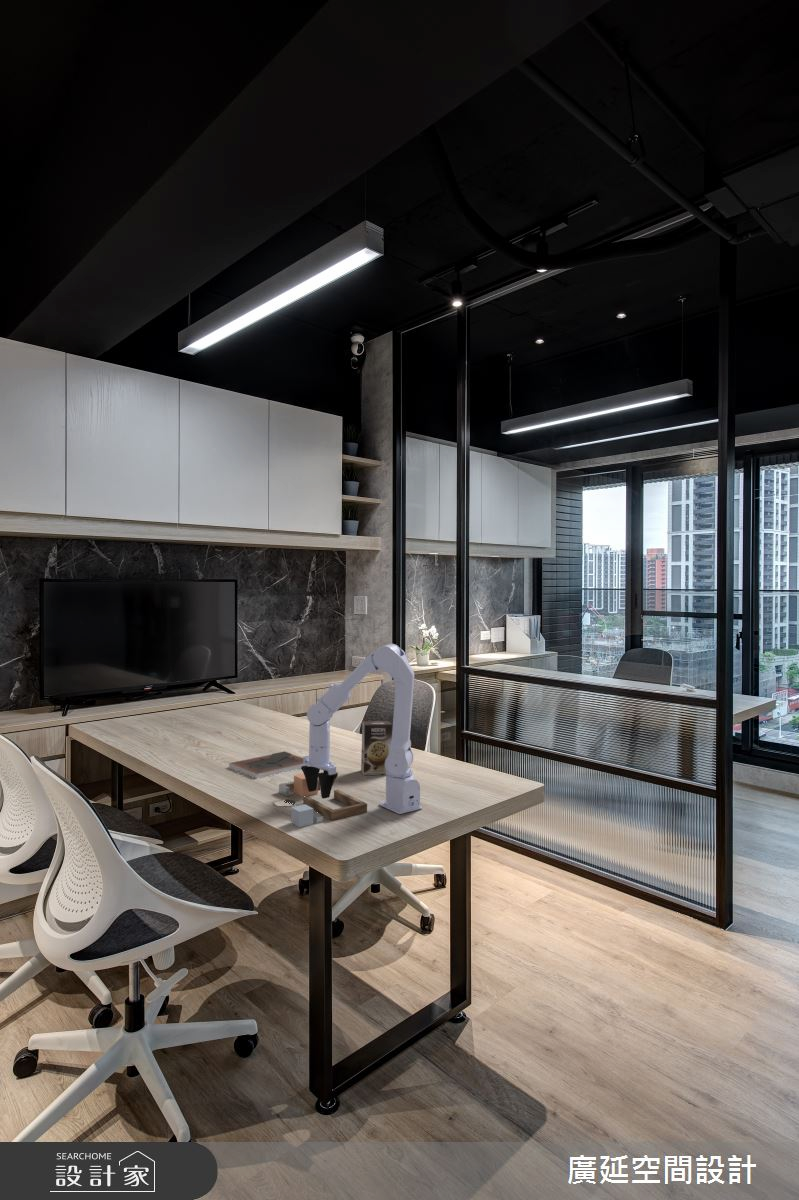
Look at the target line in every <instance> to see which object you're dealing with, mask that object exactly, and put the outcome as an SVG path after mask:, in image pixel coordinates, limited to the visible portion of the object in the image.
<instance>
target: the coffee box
mask: <svg viewBox="0 0 799 1200" xmlns="http://www.w3.org/2000/svg"><path fill="white" fill-rule="evenodd" d="M361 722H362V723H361V726H362V727H361V730H362V731H361V762H360V763H361V765H360V768H361V769H360V771H361V772H362V775H363V776H379V775H380V776H382V775H381V774H384V775H386V769H385V760H386V758H387V757H388V755H389V748H390V744H391V740H392V730H393V723H392V722H390V720H369V721H365V720H363V721H361Z"/></svg>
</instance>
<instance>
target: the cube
mask: <svg viewBox="0 0 799 1200" xmlns="http://www.w3.org/2000/svg"><path fill="white" fill-rule="evenodd" d="M293 781H294V791H293V793H294V794H296V795H297V794H298V796H299V795H300V796H299V797H301V796H302V797H301V798H303V797H304V796H308V797H310V796H315V795H318V793H319V792H318V791H319V789H318V781H317V789H316V791H312V792H309V790H308V786H307V782H306V778H305V775H304V773H300V774H299V773H298V774H295V775H293ZM314 794H315V795H314ZM309 795H310V796H309Z"/></svg>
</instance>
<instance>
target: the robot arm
mask: <svg viewBox="0 0 799 1200" xmlns="http://www.w3.org/2000/svg"><path fill="white" fill-rule="evenodd" d="M378 670H381V671H383V672H385V673H387V674H388V675H389V676H390V677H391V678H392V679H393V680H394V681H395V689H394V690H395V693H394V707H393V719H392V720H393V721H392V740H391V744H390V748H389V755H388V757H387V758H386V760H385V769H386V774H385V801H382V802H379V803H378V805H379V806H380V807H383V808H385V809H387V810H389V811H391V812H394V813H395V814H398V815H402V814H405V813H409V812H410V813H411V812H415V811H418V810H422V809H423V806H421V785H420V783H419V781H418V780H416V779H415V777H414V775H413V770H412V768H411V767H410V766H411V764H413V761H414V753H413V750H412V747H411V746H412V741H411V728H412V727H411V725H412V715H413V714H412V712H413V701H414V700H413V699H414V689H415V688H414V687H415V672H414V670H413V668H412V666H411V664H410V662H409V661H408V658H407V655H406V653H405V651H404V650H403V649H402V648H400V647H399V645H397V644H394V643H387V644H384V645H383V646H382V645H381V646H380V647H378V648H376V649H375V650H374V652H372V653H370V654H369V655H367V657H365V658H364V659H363V660H362V661H361V662H360V663H359V664H358V665H357V666H356V667H355V668H354V670H352V671H351V673H350V674H348V676H347V677H346V678H345V679H344V680H343V681H342V682H335V683H331V684H330V685H328V687H327V688H328V690H327V691H325V693H324V694H323V695H321V696H319V697H317V699H316V701H317V703H314V704H311V705H310V707H309V708H308V710H307V712H306V717H307V720H308V722H309V730H308V732H309V734H308V735H309V736H308V741H309V742H308V755H305V756H302V758H303V763H305V766H302V767H301V769H300V770H301V771H302V772H303V773H302V774H304V775H305V778H306V782H307V786H308V790H309V792H312V791H316V789H317V781H318V779H319V782H320V788H321V790H320V797H321V799H323V800H324V799H329V798H330V796H331V792H332V788H333V785H334V783H335V781H336V779H337V777H338V776H339V772H337V767H336V766H335V765H334V763H332V761H331V760H330V758H331V757H330V754H331V749H330V748H331V741H330V740H331V729H330V728H331V724H330V723H331V719H332V718H333V715H334V714H335V713H336V712H337V711H338V710H339V709H340V708H342V706H343V705H344V704H345V703H346V702H347V701H349V699H350V698H351V691H352V689H354V688H355V687H356V686H357V685H359V683H360V682H362V681H363V679H364V678H365V677H366V676H368V674H370V673H371V672H376V671H378ZM320 771H323V772H320Z"/></svg>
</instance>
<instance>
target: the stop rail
mask: <svg viewBox="0 0 799 1200" xmlns="http://www.w3.org/2000/svg"><path fill="white" fill-rule="evenodd" d="M320 789H321V788H320V782H319V779H318V790H320ZM292 791H293V792H294V780H293V781H288V782H284V783H280V784H278V793H279V794H281V795H282V794H283V796H284V795H285V796H284V797H286V796H287V797H290V796H291V795H290V793H292Z"/></svg>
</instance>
